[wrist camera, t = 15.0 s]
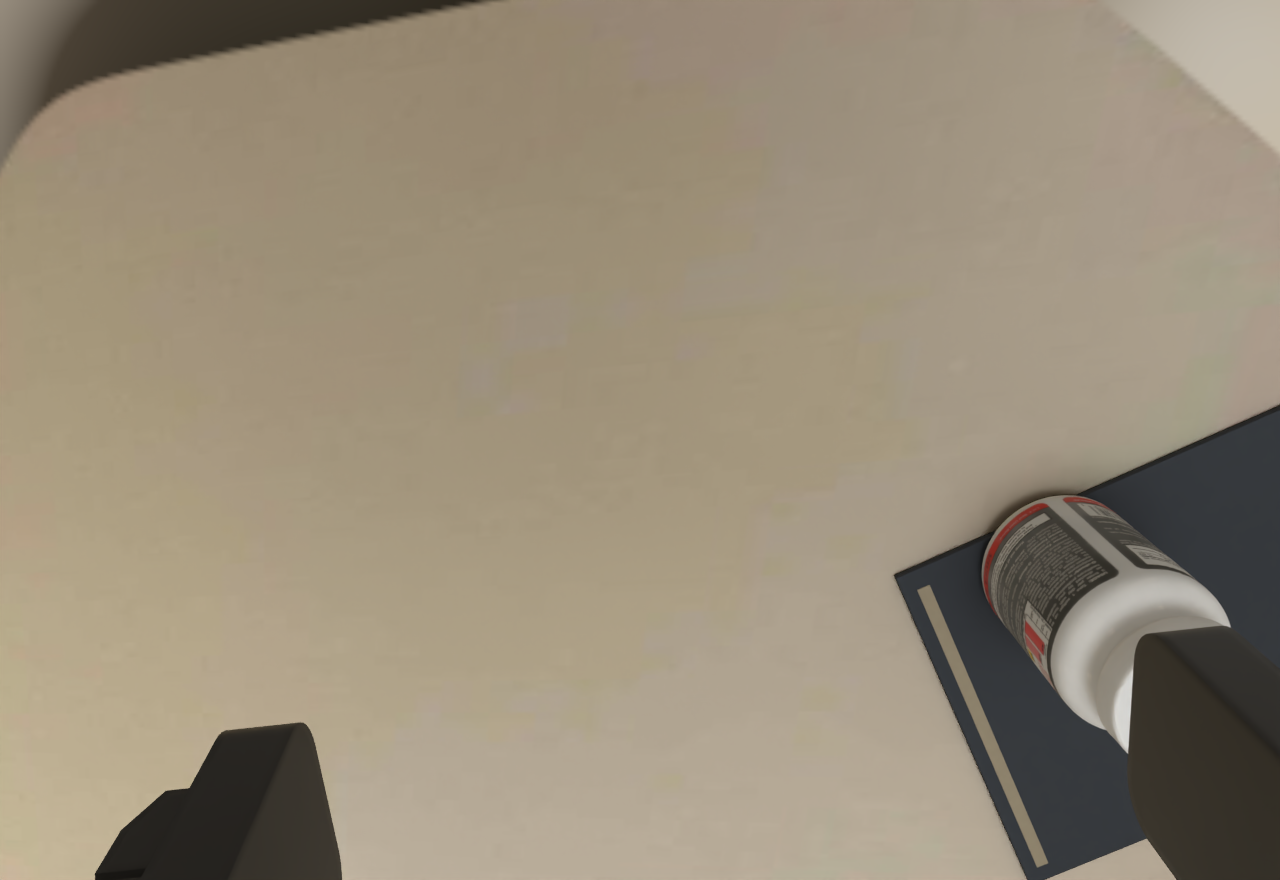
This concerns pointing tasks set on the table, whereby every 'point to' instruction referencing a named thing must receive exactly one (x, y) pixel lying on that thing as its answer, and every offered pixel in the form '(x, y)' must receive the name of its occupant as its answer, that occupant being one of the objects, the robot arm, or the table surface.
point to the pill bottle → (1088, 600)
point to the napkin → (1027, 703)
